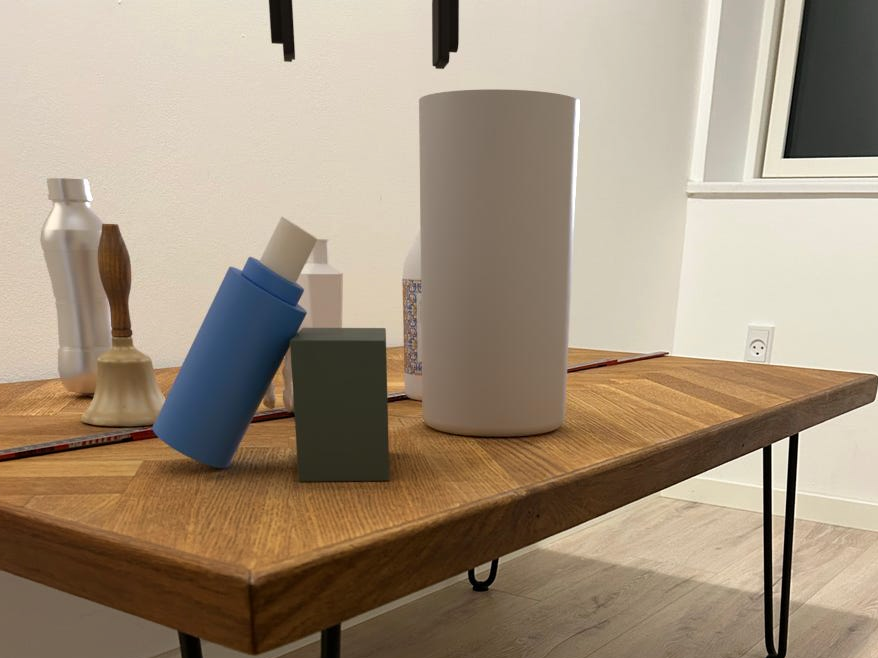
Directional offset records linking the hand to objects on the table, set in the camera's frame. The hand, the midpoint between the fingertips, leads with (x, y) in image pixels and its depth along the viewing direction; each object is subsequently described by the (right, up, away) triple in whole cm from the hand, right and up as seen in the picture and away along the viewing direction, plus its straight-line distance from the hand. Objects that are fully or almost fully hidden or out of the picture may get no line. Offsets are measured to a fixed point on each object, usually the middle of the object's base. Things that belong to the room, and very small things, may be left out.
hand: (366, 61), depth 60 cm
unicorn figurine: (-13, -14, +33) cm, 38 cm away
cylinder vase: (+8, -18, +23) cm, 31 cm away
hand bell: (-24, -17, +24) cm, 38 cm away
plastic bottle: (-32, -12, +37) cm, 51 cm away
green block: (-2, -24, +7) cm, 26 cm away
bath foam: (+3, -12, +38) cm, 40 cm away
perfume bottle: (-7, -16, +27) cm, 33 cm away
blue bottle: (-10, -25, +7) cm, 27 cm away
